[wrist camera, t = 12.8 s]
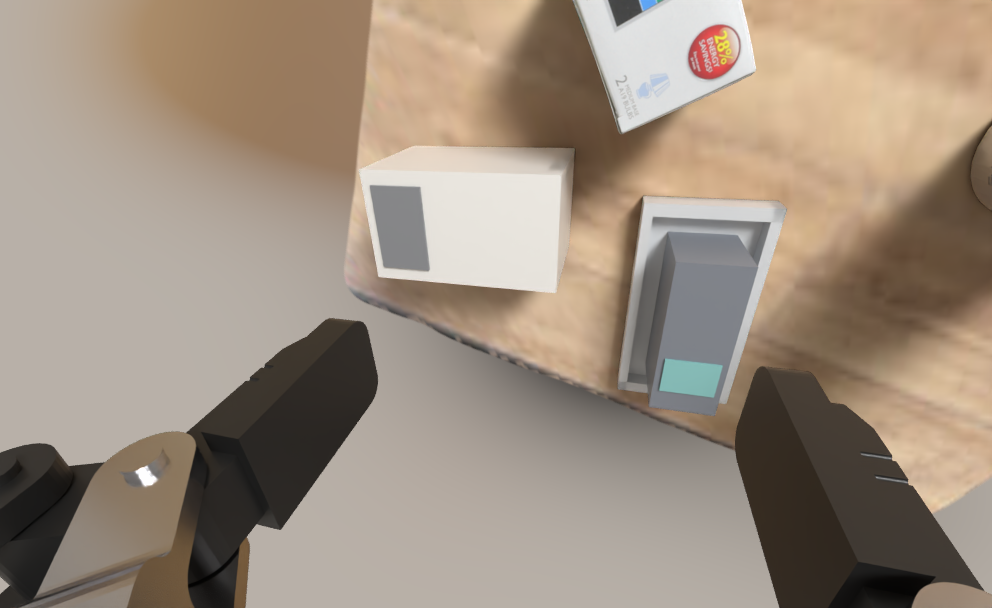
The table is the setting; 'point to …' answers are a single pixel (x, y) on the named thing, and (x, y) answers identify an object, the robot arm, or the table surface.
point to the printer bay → (472, 215)
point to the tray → (658, 216)
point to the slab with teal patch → (697, 319)
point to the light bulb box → (665, 52)
